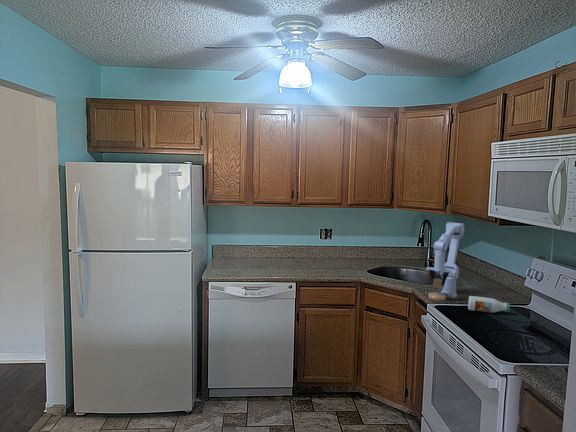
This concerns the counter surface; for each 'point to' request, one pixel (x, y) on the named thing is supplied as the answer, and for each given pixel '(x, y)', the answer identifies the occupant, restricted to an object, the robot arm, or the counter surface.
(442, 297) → the tan round disc
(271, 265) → the counter surface
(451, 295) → the grey tin
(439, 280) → the walnut cube
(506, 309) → the milk bottle
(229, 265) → the counter surface
